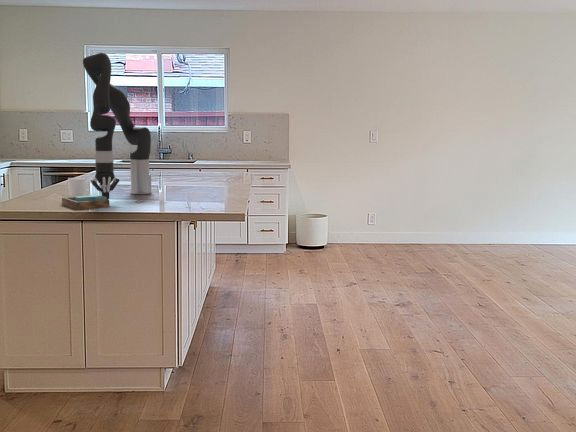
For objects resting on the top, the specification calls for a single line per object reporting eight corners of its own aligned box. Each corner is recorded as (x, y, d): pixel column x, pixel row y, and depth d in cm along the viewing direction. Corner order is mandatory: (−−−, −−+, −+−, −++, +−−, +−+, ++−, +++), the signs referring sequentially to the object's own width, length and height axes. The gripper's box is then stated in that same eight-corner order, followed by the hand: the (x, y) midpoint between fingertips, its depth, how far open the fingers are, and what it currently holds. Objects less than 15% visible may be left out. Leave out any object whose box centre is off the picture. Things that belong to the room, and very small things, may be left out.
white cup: (90, 199, 285) (89, 178, 283) (79, 201, 278) (78, 179, 276) (76, 198, 288) (75, 177, 286) (64, 200, 280) (64, 178, 279)
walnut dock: (93, 202, 277) (93, 195, 276) (109, 206, 264) (109, 200, 263) (62, 204, 268) (61, 197, 268) (76, 209, 255) (76, 202, 254)
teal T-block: (95, 202, 275) (95, 194, 274) (106, 206, 266) (106, 197, 265) (71, 204, 268) (71, 195, 267) (81, 208, 259) (81, 198, 258)
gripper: (115, 160, 275) (116, 198, 278) (86, 161, 267) (87, 200, 270) (122, 161, 270) (123, 200, 272) (93, 162, 261) (94, 202, 264)
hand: (105, 200), depth 271 cm, fingers closed
